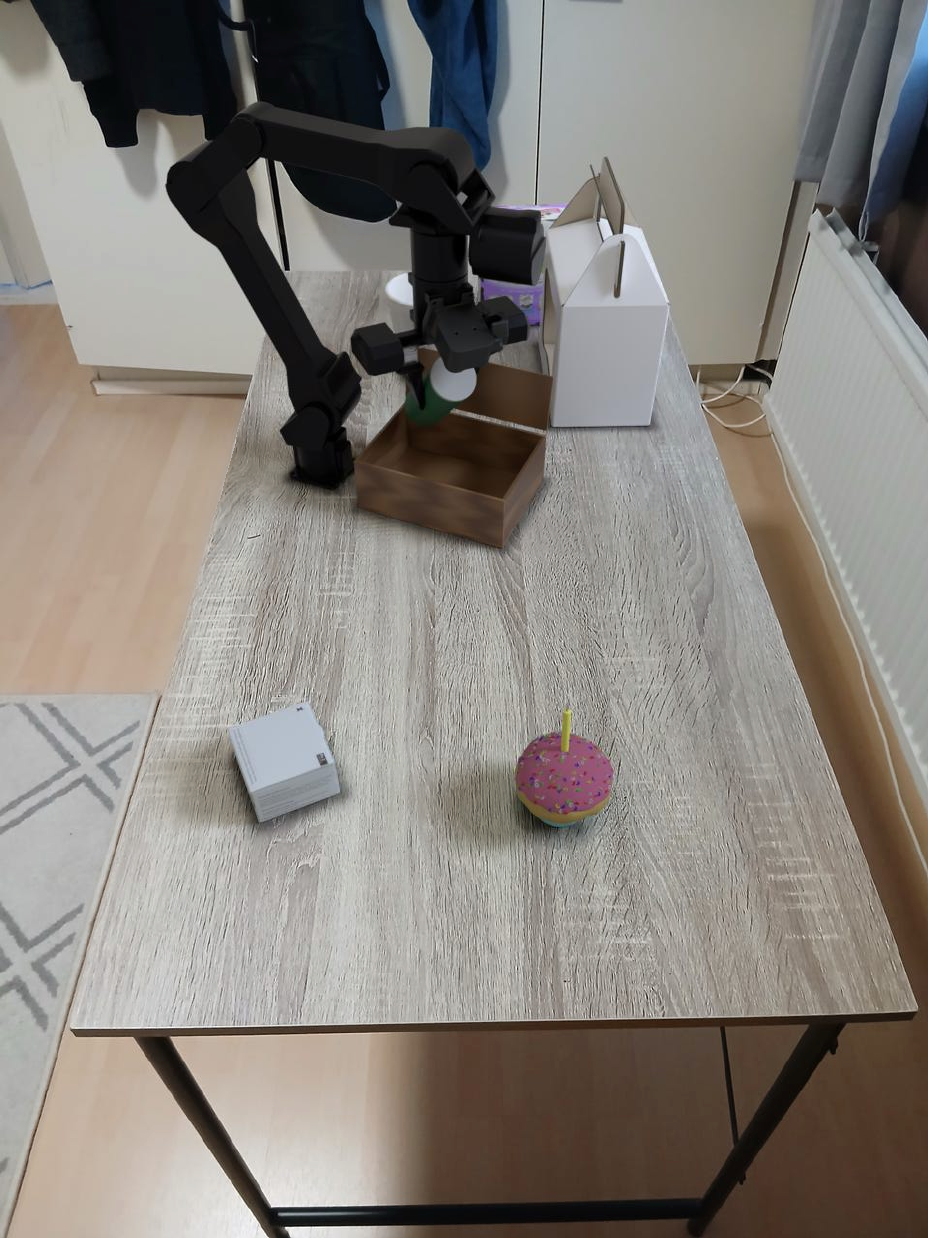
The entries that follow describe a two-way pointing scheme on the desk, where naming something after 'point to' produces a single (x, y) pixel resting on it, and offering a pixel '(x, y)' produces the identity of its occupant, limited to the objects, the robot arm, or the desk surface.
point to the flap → (504, 393)
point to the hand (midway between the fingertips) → (442, 403)
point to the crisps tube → (440, 394)
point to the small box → (284, 761)
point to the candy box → (518, 293)
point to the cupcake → (563, 777)
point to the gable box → (601, 311)
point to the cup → (400, 303)
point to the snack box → (452, 475)
